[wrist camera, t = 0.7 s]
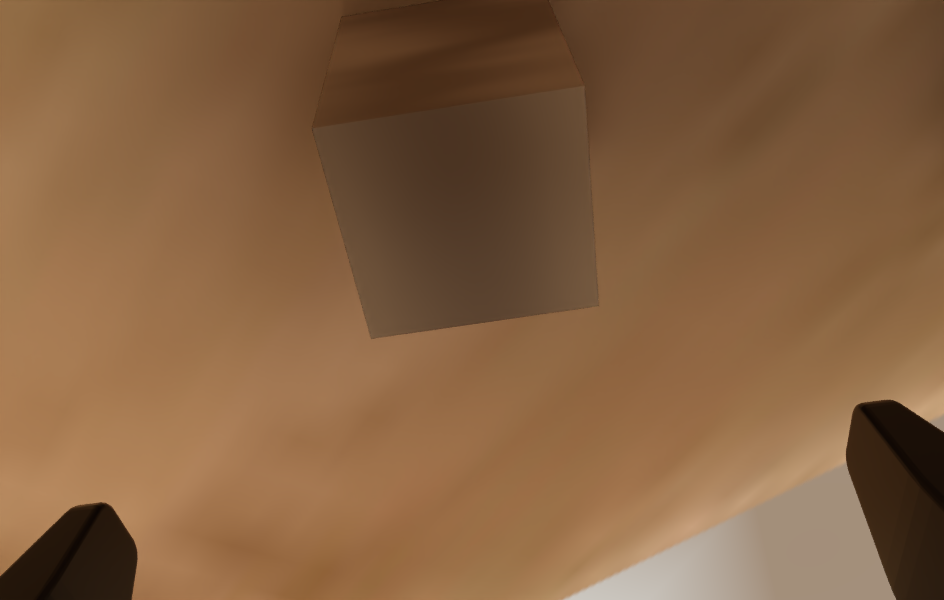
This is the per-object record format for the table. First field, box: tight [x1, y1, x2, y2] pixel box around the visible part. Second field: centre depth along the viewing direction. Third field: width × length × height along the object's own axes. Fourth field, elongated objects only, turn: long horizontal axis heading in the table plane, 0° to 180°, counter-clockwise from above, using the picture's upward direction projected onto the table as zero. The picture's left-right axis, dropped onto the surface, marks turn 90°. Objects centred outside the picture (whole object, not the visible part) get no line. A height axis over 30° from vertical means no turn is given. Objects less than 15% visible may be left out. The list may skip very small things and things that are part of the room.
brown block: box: [312, 0, 599, 339], centre depth 17 cm, size 4×4×6 cm
